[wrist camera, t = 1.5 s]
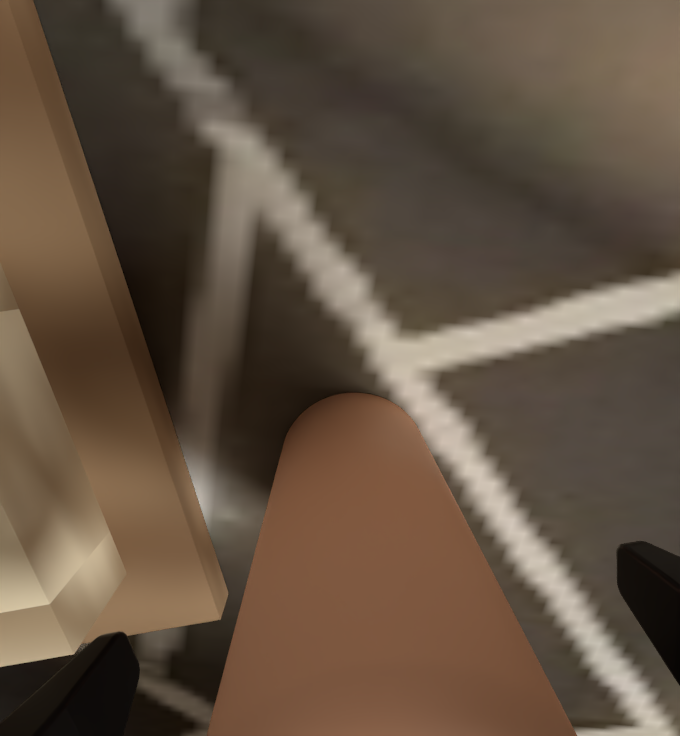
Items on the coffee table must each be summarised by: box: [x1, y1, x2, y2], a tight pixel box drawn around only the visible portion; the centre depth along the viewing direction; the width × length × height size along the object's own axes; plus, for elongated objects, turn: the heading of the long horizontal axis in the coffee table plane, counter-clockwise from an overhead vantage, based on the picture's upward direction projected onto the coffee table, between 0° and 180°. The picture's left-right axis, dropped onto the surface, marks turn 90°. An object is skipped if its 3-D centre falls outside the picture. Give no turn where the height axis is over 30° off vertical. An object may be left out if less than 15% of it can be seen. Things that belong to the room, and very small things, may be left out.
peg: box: [207, 393, 577, 736], centre depth 8 cm, size 4×4×8 cm
